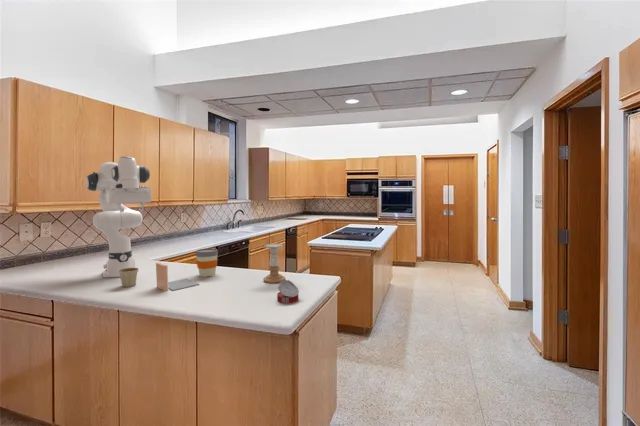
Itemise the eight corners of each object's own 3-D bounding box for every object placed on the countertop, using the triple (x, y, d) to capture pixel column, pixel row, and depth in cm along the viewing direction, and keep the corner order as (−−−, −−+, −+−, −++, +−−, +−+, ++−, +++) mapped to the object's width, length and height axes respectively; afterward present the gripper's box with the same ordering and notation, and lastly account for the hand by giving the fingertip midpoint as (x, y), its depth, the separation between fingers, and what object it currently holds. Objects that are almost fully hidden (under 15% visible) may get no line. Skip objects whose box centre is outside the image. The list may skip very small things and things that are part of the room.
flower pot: (143, 284, 172) (142, 268, 172) (125, 289, 164) (124, 272, 164) (133, 282, 177) (132, 266, 176) (115, 286, 169) (114, 270, 168)
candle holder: (261, 283, 173) (260, 246, 172) (265, 277, 186) (265, 243, 184) (283, 283, 173) (283, 246, 172) (286, 277, 185) (286, 243, 184)
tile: (156, 287, 168) (155, 262, 167) (160, 286, 169) (159, 262, 168) (164, 291, 161) (163, 265, 160) (168, 290, 162) (167, 265, 161)
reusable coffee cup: (214, 277, 185) (213, 252, 184) (192, 277, 185) (192, 252, 184) (221, 272, 198) (220, 248, 197) (201, 272, 198) (200, 248, 197)
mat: (160, 284, 172) (160, 283, 172) (186, 279, 182) (186, 278, 182) (172, 290, 161) (172, 289, 161) (199, 284, 171) (199, 283, 171)
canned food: (294, 306, 152) (304, 287, 153) (293, 311, 142) (303, 291, 143) (273, 295, 152) (283, 276, 153) (270, 300, 142) (281, 280, 142)
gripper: (148, 186, 182) (150, 210, 182) (106, 186, 167) (108, 213, 167) (152, 185, 177) (154, 210, 177) (109, 185, 162) (112, 212, 162)
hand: (132, 211), depth 172 cm, fingers open, 8 cm apart
